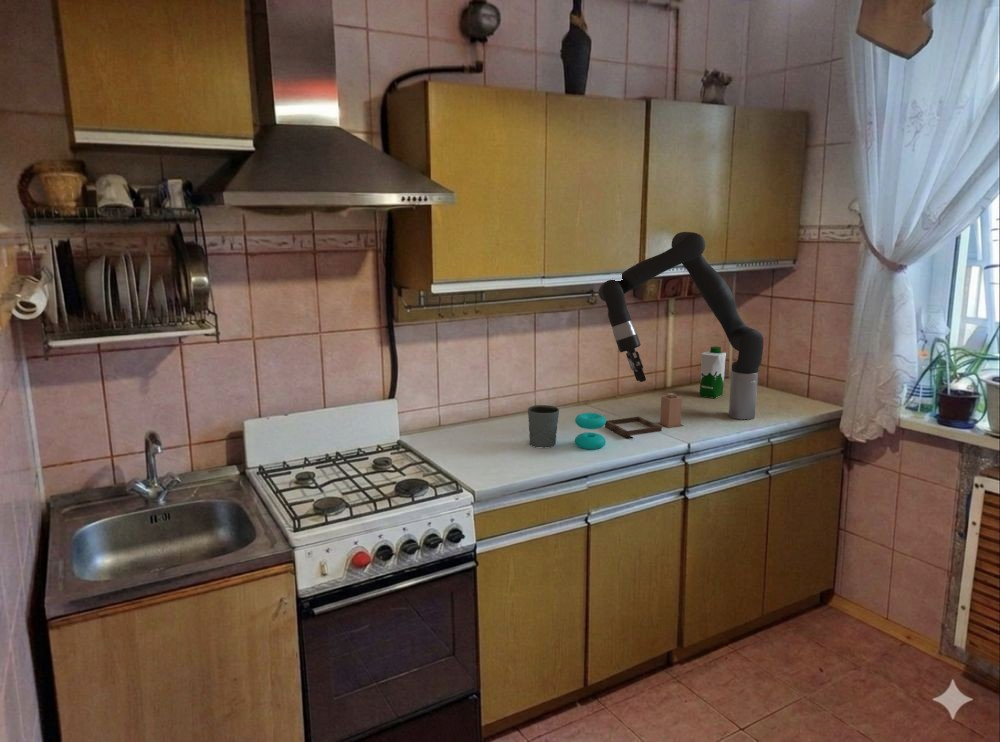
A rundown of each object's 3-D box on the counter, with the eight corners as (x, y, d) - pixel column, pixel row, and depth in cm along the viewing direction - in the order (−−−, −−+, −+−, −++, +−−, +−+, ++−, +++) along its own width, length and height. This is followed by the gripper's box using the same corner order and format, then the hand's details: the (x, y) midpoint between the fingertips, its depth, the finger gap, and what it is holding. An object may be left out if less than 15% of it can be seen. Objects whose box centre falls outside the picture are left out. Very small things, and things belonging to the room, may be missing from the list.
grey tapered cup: (522, 442, 231) (521, 407, 228) (546, 437, 236) (546, 403, 233) (539, 450, 222) (540, 414, 220) (564, 445, 228) (565, 409, 225)
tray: (604, 427, 246) (605, 420, 246) (638, 422, 251) (638, 416, 251) (626, 438, 233) (626, 432, 233) (661, 433, 239) (661, 427, 238)
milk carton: (725, 395, 288) (728, 347, 284) (716, 399, 281) (719, 351, 277) (705, 391, 294) (708, 345, 289) (696, 396, 287) (698, 348, 282)
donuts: (612, 418, 222) (584, 422, 219) (611, 448, 225) (583, 452, 221) (596, 410, 231) (569, 413, 228) (596, 439, 234) (569, 442, 230)
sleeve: (660, 423, 247) (661, 396, 245) (671, 421, 249) (673, 394, 247) (668, 427, 243) (669, 399, 240) (680, 425, 244) (681, 397, 242)
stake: (655, 425, 248) (657, 392, 245) (672, 423, 250) (673, 390, 248) (667, 431, 242) (669, 397, 239) (684, 428, 244) (686, 395, 242)
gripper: (639, 332, 231) (655, 378, 231) (633, 333, 246) (649, 376, 246) (617, 339, 232) (633, 385, 232) (613, 340, 246) (628, 383, 246)
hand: (641, 380), depth 239 cm, fingers open, 8 cm apart
